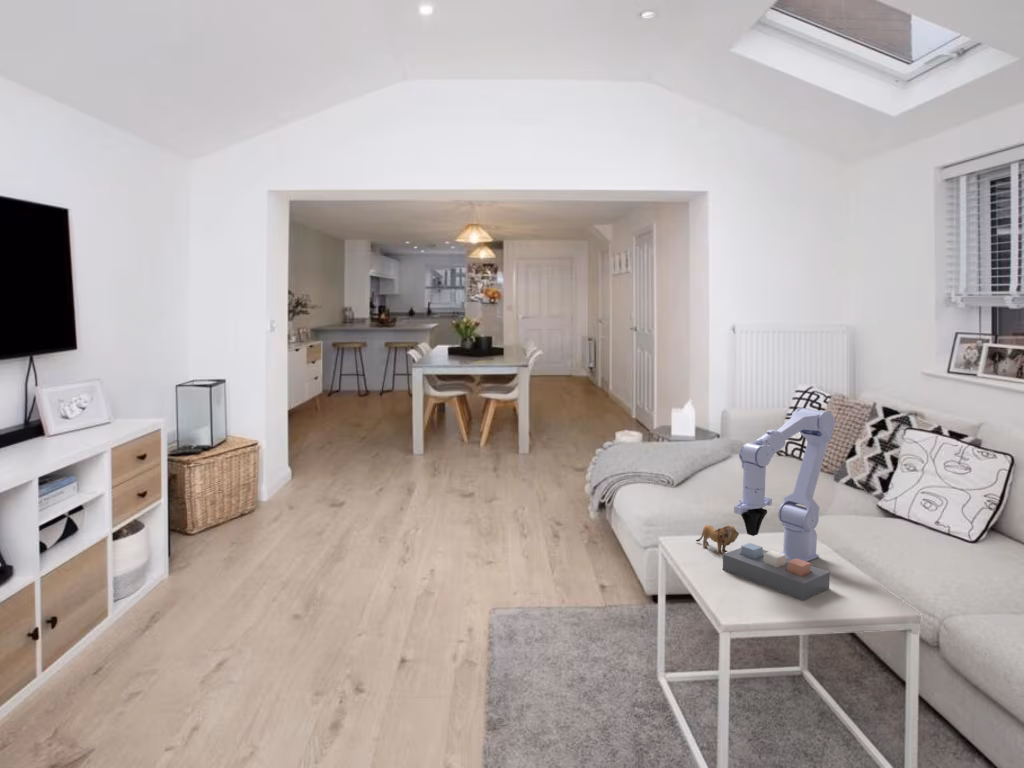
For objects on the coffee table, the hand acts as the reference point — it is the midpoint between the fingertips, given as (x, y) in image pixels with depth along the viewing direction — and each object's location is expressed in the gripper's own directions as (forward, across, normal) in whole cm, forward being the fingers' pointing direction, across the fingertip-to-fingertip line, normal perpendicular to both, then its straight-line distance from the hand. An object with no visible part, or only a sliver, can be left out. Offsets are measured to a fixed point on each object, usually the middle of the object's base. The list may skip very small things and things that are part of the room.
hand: (752, 534), depth 175 cm
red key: (+6, 0, +14) cm, 15 cm away
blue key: (+6, 0, 0) cm, 6 cm away
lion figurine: (+11, -5, -15) cm, 19 cm away
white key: (+6, 0, +7) cm, 10 cm away
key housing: (+10, 0, +7) cm, 13 cm away
